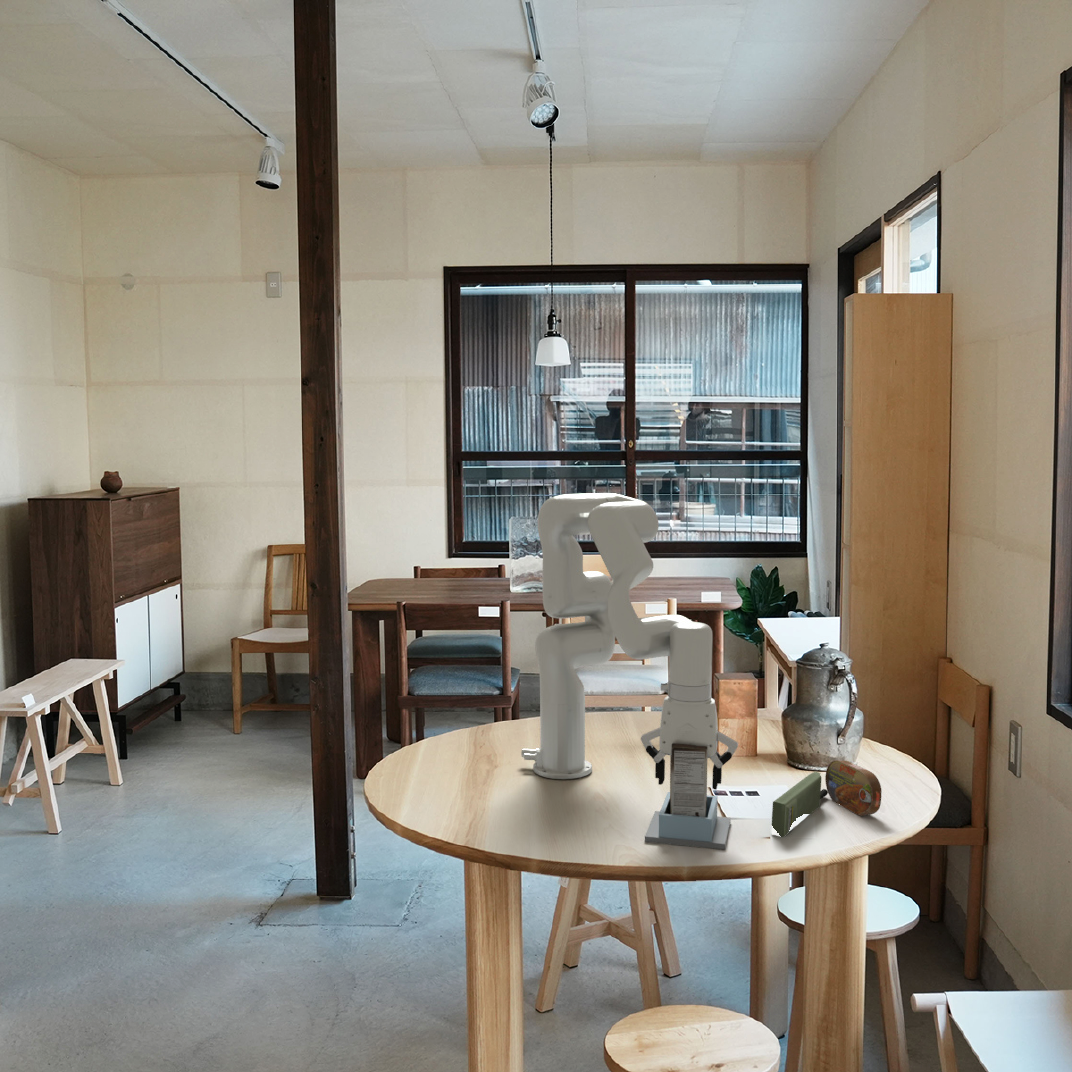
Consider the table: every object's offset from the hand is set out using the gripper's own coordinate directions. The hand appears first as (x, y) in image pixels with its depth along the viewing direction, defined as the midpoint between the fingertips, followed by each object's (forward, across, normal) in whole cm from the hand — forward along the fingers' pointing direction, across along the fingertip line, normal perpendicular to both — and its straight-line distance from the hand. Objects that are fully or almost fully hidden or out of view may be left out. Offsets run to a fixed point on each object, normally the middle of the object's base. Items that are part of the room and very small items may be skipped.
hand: (688, 784), depth 188 cm
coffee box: (+8, 0, 0) cm, 8 cm away
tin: (+9, +30, +20) cm, 37 cm away
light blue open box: (+9, 0, 0) cm, 9 cm away
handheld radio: (+9, +20, +13) cm, 26 cm away
